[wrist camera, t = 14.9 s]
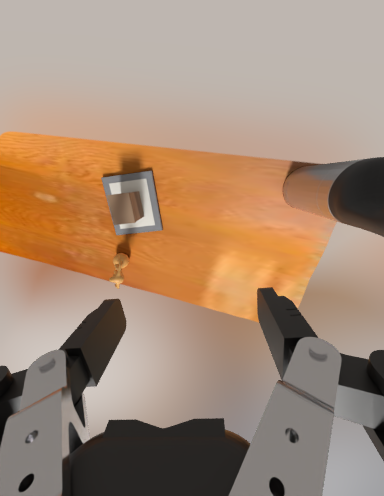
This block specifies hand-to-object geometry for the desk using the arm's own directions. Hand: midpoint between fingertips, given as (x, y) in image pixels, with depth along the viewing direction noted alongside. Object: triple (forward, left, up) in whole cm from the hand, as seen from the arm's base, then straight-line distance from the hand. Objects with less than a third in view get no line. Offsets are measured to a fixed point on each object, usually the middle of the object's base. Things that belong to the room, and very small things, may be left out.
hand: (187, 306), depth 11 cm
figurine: (+21, +11, -38) cm, 45 cm away
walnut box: (+16, -3, -37) cm, 41 cm away
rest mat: (+16, -3, -38) cm, 41 cm away
